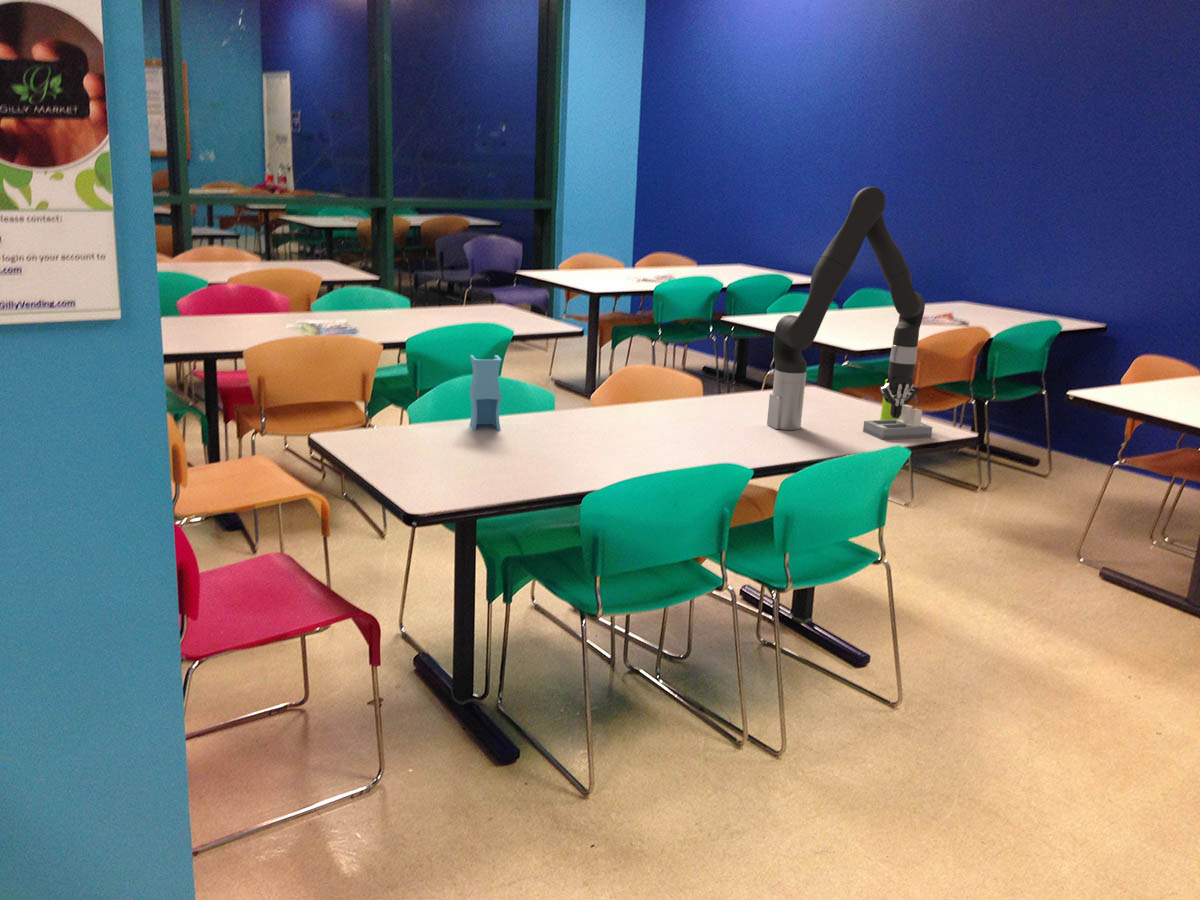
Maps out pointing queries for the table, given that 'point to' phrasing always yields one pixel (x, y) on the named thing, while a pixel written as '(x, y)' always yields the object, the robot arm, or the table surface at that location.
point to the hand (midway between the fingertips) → (895, 417)
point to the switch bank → (895, 430)
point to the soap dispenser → (886, 409)
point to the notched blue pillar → (485, 392)
